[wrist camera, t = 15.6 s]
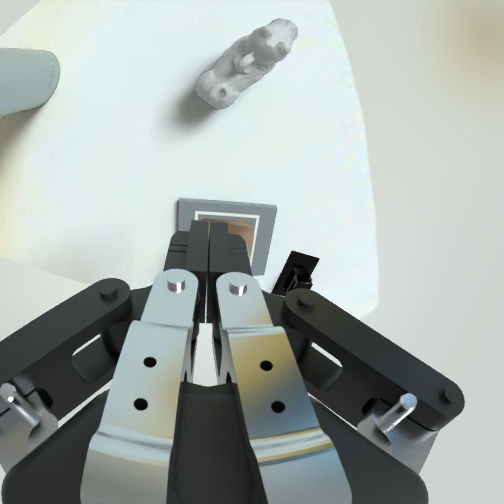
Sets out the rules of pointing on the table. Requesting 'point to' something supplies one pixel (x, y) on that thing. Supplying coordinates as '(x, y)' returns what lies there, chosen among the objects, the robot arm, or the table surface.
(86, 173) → the table surface
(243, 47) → the dog figurine
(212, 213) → the board
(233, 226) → the walnut block
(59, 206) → the table surface
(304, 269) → the black stepped block
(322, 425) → the robot arm
